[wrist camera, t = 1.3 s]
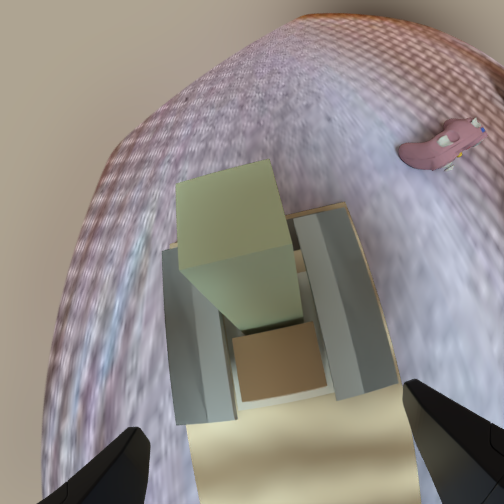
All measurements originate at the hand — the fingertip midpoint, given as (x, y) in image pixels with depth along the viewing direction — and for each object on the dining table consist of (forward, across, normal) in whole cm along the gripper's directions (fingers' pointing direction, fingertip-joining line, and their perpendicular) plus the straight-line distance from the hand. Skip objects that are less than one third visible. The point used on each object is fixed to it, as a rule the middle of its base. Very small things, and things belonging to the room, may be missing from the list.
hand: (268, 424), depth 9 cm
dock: (+13, 0, +5) cm, 14 cm away
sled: (+12, 0, +5) cm, 13 cm away
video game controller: (+24, -21, -4) cm, 32 cm away
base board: (+11, 0, +8) cm, 14 cm away
